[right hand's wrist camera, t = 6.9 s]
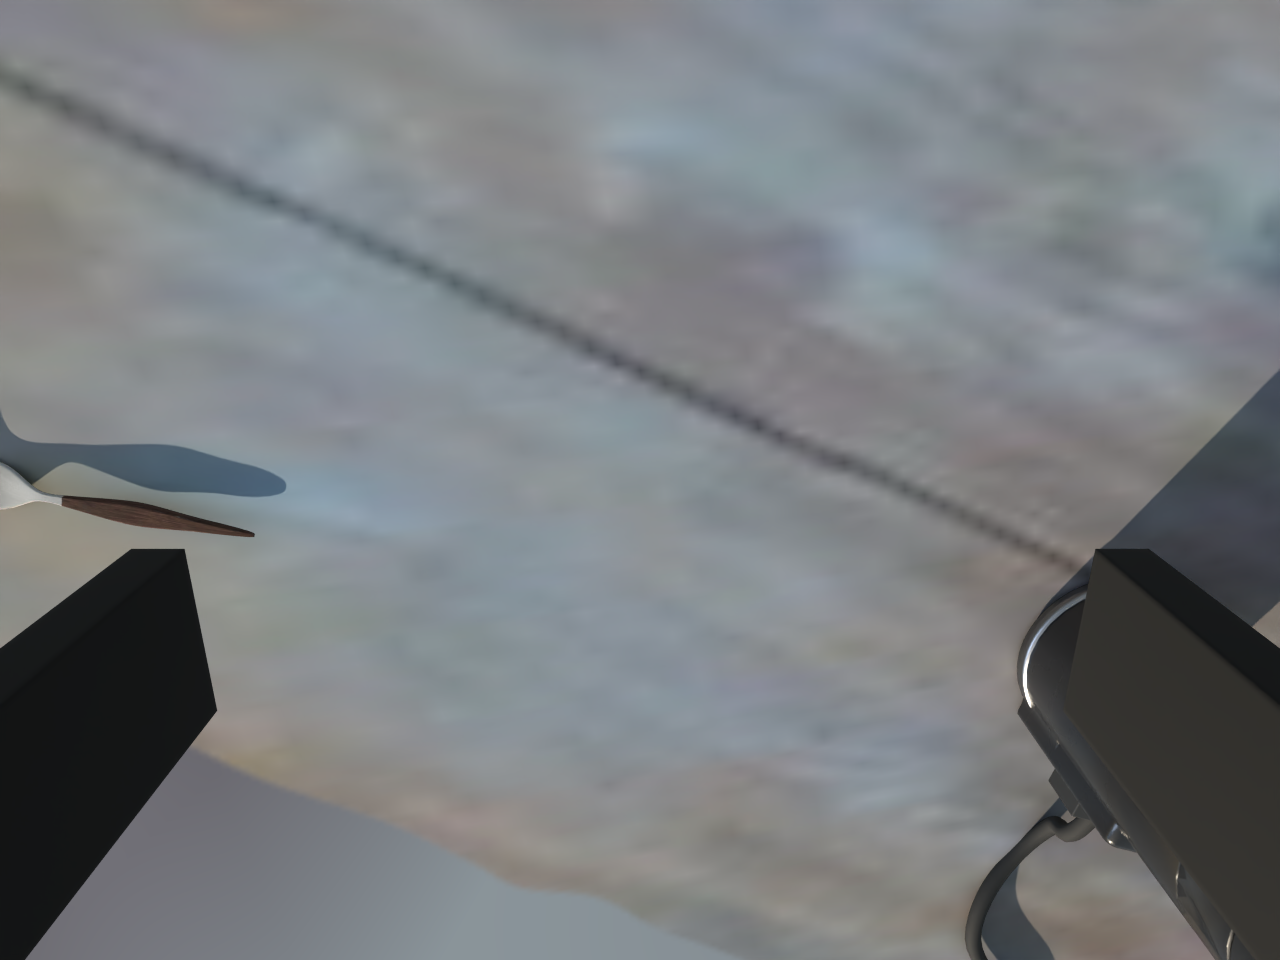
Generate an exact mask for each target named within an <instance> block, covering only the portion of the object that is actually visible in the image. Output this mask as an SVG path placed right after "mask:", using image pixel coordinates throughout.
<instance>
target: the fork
mask: <svg viewBox="0 0 1280 960" xmlns="http://www.w3.org/2000/svg"><path fill="white" fill-rule="evenodd" d="M34 501H44V502H49V503H53V504H57V505H61V506H64V507H68V508H71V509H75V510H78V511H82V512H85V513H89V514H92V515H95V516H99V517H102V518H106V519H109V520H113V521H117V522H121V523H125V524H129V525H135V526H141V527H149V528H159V529H171V530H183V531H193V532H203V533H212V534H221V535H231V536H242V537H254V535H255V534H254V533H252V532H250V531H247V530H243V529H240V528H236V527H232V526H228V525H225V524H221V523H217V522H212V521H208V520H204V519H200V518H197V517H193V516H189V515H185V514H182V513H178V512H175V511H171V510H168V509H164V508H161V507H157V506H153V505H149V504H144V503H139V502H133V501H125V500H115V499H103V498H90V497H76V496H64V495H54V494H48V493H45V492H42V491H40V490H38V489H36V488H35V487H34V486H32V485H31V484H30V483H29V482H28V481H27V480H26V479H24V478H23V477H22V476H21V475H20V474H19V473H18V472H16V471H15V470H14V469H12V468H11V467H9V466H8V465H6V464H4V463H1V462H0V509H9V508H14V507H17V506H21V505H24V504H27V503H30V502H34Z"/></svg>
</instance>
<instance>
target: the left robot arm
mask: <svg viewBox="0 0 1280 960" xmlns="http://www.w3.org/2000/svg"><path fill="white" fill-rule="evenodd" d="M1087 589H1088V584H1087V585H1084V586H1082V587H1079V588H1077V589H1075V590H1073V591H1071V592H1069V593H1068V594H1066V595H1064V596H1063V597H1061V598H1060V599H1058V600H1057V601H1056V602H1054V603H1053V604H1052V605H1051V606H1049V607H1048V608H1047V609H1046V610H1045V611H1044V612H1043V613H1042V614H1041V615H1040V616H1039V617H1038V619H1037V620H1036V621H1035V622H1034V624H1033V625H1032V627H1031V628H1030V629H1029V631H1028V633H1027V635H1026V636H1025V639H1024V641H1023V643H1022V646H1021V649H1020V652H1019V656H1018V663H1017V677H1018V683H1019V687H1020V690H1021V693H1022V695H1023V697H1024V698H1023V701H1022V704H1021V706H1020V708H1019V710H1018V715H1019V717H1020V718H1021V720H1022V721H1023V723H1024V724H1025V725H1026V727H1027V728H1028V730H1029V731H1030V733H1031V734H1032V736H1033V737H1034V739H1035V740H1036V741H1037V743H1038V744H1039V746H1040V747H1041V749H1042V750H1043V752H1044V753H1045V755H1046V756H1047V758H1048V759H1049V760H1050V762H1051V763H1052V765H1053V766H1054V768H1055V770H1054V771H1053V773H1052V775H1051V777H1050V779H1049V782H1050V784H1051V785H1052V787H1053V788H1054V790H1055V791H1056V793H1057V794H1058V796H1059V797H1060V799H1061V800H1062V802H1063V803H1064V805H1065V806H1066V808H1067V809H1068V811H1069V813H1070V814H1071V815H1072V816H1074V817H1076V818H1075V819H1074V820H1073V821H1071V822H1070V823H1067V822H1066V821H1065V820H1063V819H1061V818H1060V817H1058V816H1052V817H1048V818H1046V819H1044V820H1042V821H1041V822H1039V823H1038V824H1037V825H1035V826H1034V827H1033V828H1032V829H1031V830H1030V831H1029V832H1028V833H1027V834H1026V835H1025V836H1024V837H1023V838H1022V840H1021V841H1020V842H1019V843H1018V844H1017V845H1016V846H1015V847H1014V848H1013V849H1012V850H1011V851H1010V852H1009V853H1008V854H1007V855H1006V856H1005V857H1003V858H1002V859H1001V860H1000V861H999V862H998V863H997V864H996V865H995V867H994V868H993V869H992V870H991V872H990V873H989V874H988V876H987V877H986V878H985V880H984V881H983V883H982V885H981V887H980V889H979V890H978V892H977V894H976V897H975V899H974V901H973V903H972V906H971V909H970V912H969V915H968V919H967V924H966V931H965V941H966V947H967V951H968V953H969V956H970V958H971V960H988V959H987V957H986V956H985V953H984V951H983V948H982V942H981V933H982V926H983V922H984V920H985V917H986V914H987V912H988V909H989V907H990V905H991V903H992V901H993V899H994V897H995V896H996V894H997V892H998V891H999V889H1000V888H1001V886H1002V885H1003V883H1004V882H1005V880H1006V879H1007V878H1008V876H1009V875H1010V874H1011V873H1012V871H1013V870H1014V869H1015V868H1016V867H1017V866H1018V865H1019V864H1020V862H1021V861H1022V860H1023V859H1024V858H1025V857H1026V856H1027V855H1029V854H1030V853H1031V852H1032V851H1033V850H1034V849H1035V848H1037V847H1038V846H1039V845H1040V844H1042V843H1043V842H1044V841H1046V840H1047V839H1049V838H1050V837H1052V836H1053V835H1056V836H1057V837H1058V838H1060V839H1061V840H1063V841H1065V842H1074V841H1077V840H1080V839H1082V838H1083V837H1085V836H1086V835H1087V834H1088V833H1090V832H1091V831H1092V830H1093V829H1094V828H1095V827H1096V829H1097V830H1098V832H1099V833H1100V835H1101V836H1102V838H1103V839H1104V840H1105V841H1106V842H1107V843H1108V844H1110V845H1112V846H1113V847H1116V848H1119V849H1123V850H1128V851H1132V852H1136V853H1138V855H1139V856H1140V857H1141V859H1142V860H1143V862H1144V863H1145V864H1146V866H1147V867H1148V868H1149V870H1150V871H1151V873H1152V874H1153V875H1154V877H1155V878H1156V879H1157V881H1158V882H1159V883H1160V885H1161V886H1162V888H1163V889H1164V890H1165V892H1166V893H1167V894H1168V896H1169V897H1170V899H1171V900H1172V901H1173V903H1174V904H1175V905H1176V907H1177V908H1178V909H1179V911H1180V912H1181V914H1182V915H1183V916H1184V918H1185V919H1186V920H1187V922H1188V923H1189V925H1190V926H1191V927H1192V929H1193V930H1194V931H1195V932H1196V934H1197V935H1198V937H1199V938H1200V939H1201V941H1202V942H1203V944H1204V945H1205V946H1206V948H1207V949H1208V950H1209V952H1210V953H1211V955H1212V956H1213V957H1214V959H1215V960H1255V959H1254V958H1253V956H1252V955H1251V954H1250V952H1249V951H1248V950H1247V949H1246V947H1245V946H1244V945H1243V943H1242V942H1241V941H1240V940H1239V938H1238V937H1237V936H1236V934H1235V933H1234V932H1233V930H1232V929H1231V928H1230V927H1229V925H1228V924H1227V923H1226V921H1225V920H1224V919H1223V917H1222V916H1221V915H1220V914H1219V912H1218V911H1217V910H1216V908H1215V907H1214V906H1213V905H1212V903H1211V902H1210V901H1209V899H1208V898H1207V897H1206V895H1205V894H1204V893H1203V892H1202V890H1201V889H1200V888H1199V886H1198V885H1197V884H1196V883H1195V881H1194V880H1193V879H1192V877H1191V876H1190V875H1189V873H1188V872H1187V871H1186V870H1185V868H1184V867H1183V866H1182V864H1181V863H1180V862H1179V860H1178V859H1177V858H1176V857H1175V855H1174V854H1173V853H1172V851H1171V850H1170V849H1169V848H1168V846H1167V845H1166V844H1165V842H1164V841H1163V840H1162V838H1161V837H1160V836H1159V835H1158V833H1157V832H1156V831H1155V829H1154V828H1153V827H1152V826H1151V824H1150V823H1149V822H1148V820H1147V819H1146V818H1145V816H1144V815H1143V814H1142V813H1141V811H1140V810H1139V809H1138V807H1137V806H1136V805H1135V803H1134V802H1133V801H1132V800H1131V798H1130V797H1129V796H1128V794H1127V793H1126V792H1125V791H1124V789H1123V788H1122V787H1121V785H1120V784H1119V783H1118V781H1117V780H1116V779H1115V778H1114V776H1113V775H1112V774H1111V772H1110V771H1109V770H1108V769H1107V767H1106V766H1105V765H1104V763H1103V762H1102V761H1101V759H1100V758H1099V757H1098V756H1097V754H1096V753H1095V752H1094V750H1093V749H1092V748H1091V746H1090V745H1089V744H1088V743H1087V741H1086V740H1085V739H1084V737H1083V736H1082V735H1081V734H1080V732H1079V731H1078V730H1077V728H1076V727H1075V726H1074V724H1073V723H1072V722H1071V721H1070V719H1069V718H1068V717H1067V715H1066V714H1065V713H1064V712H1063V708H1064V703H1065V698H1066V693H1067V688H1068V683H1069V678H1070V673H1071V668H1072V663H1073V658H1074V653H1075V648H1076V643H1077V638H1078V633H1079V628H1080V623H1081V618H1082V613H1083V609H1084V604H1085V599H1086V594H1087Z"/></svg>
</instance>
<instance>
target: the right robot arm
mask: <svg viewBox="0 0 1280 960" xmlns="http://www.w3.org/2000/svg"><path fill="white" fill-rule="evenodd" d="M216 711H217V708H216V703H215V698H214V693H213V688H212V683H211V678H210V673H209V668H208V663H207V658H206V653H205V648H204V643H203V638H202V633H201V628H200V623H199V618H198V613H197V609H196V604H195V599H194V594H193V589H192V584H191V579H190V574H189V569H188V564H187V559H186V554H185V549H131V550H129V551H128V552H127V553H125V554H124V555H123V556H121V557H120V558H119V559H117V560H116V561H115V562H113V563H112V564H111V565H110V566H108V567H107V568H106V569H104V570H103V571H102V572H100V573H99V574H98V575H96V576H95V577H94V578H92V579H91V580H90V581H88V582H87V583H86V584H85V585H83V586H82V587H81V588H79V589H78V590H77V591H75V592H74V593H73V594H71V595H70V596H69V597H67V598H66V599H65V600H63V601H62V602H61V603H59V604H58V605H57V606H56V607H54V608H53V609H52V610H50V611H49V612H48V613H46V614H45V615H44V616H42V617H41V618H40V619H38V620H37V621H36V622H34V623H33V624H32V625H30V626H29V627H28V628H27V629H25V630H24V631H23V632H21V633H20V634H19V635H17V636H16V637H15V638H13V639H12V640H11V641H9V642H8V643H7V644H5V645H4V646H3V647H2V648H0V960H25V959H26V958H27V956H28V955H29V954H30V952H31V951H32V950H33V948H34V947H35V946H36V945H37V943H38V942H39V941H40V940H41V938H42V937H43V936H44V934H45V933H46V932H47V930H48V929H49V928H50V927H51V925H52V924H53V923H54V921H55V920H56V919H57V917H58V916H59V915H60V914H61V912H62V911H63V910H64V908H65V907H66V906H67V905H68V903H69V902H70V901H71V899H72V898H73V897H74V895H75V894H76V893H77V891H78V890H79V889H80V888H81V886H82V885H83V884H84V882H85V881H86V880H87V879H88V877H89V876H90V875H91V873H92V872H93V871H94V870H95V868H96V867H97V866H98V864H99V863H100V862H101V860H102V859H103V858H104V857H105V855H106V854H107V853H108V851H109V850H110V849H111V848H112V846H113V845H114V844H115V842H116V841H117V840H118V838H119V837H120V836H121V835H122V833H123V832H124V831H125V829H126V828H127V827H128V826H129V824H130V823H131V822H132V820H133V819H134V818H135V816H136V815H137V814H138V813H139V811H140V810H141V809H142V807H143V806H144V805H145V803H146V802H147V801H148V799H149V798H150V797H151V796H152V794H153V793H154V792H155V790H156V789H157V788H158V787H159V785H160V784H161V783H162V781H163V780H164V779H165V778H166V776H167V775H168V774H169V772H170V771H171V770H172V768H173V767H174V766H175V765H176V763H177V762H178V761H179V759H180V758H181V757H182V756H183V754H184V753H185V752H186V750H187V749H188V748H189V746H190V745H191V744H192V743H193V741H194V740H195V739H196V737H197V736H198V735H199V734H200V732H201V731H202V730H203V728H204V727H205V726H206V724H207V723H208V722H209V721H210V719H211V718H212V717H213V715H214V714H215V713H216ZM1063 712H1064V713H1065V714H1066V715H1067V717H1068V718H1069V719H1070V721H1071V722H1072V723H1073V724H1074V726H1075V727H1076V728H1077V730H1078V731H1079V732H1080V734H1081V735H1082V736H1083V737H1084V739H1085V740H1086V741H1087V743H1088V744H1089V745H1090V746H1091V748H1092V749H1093V750H1094V752H1095V753H1096V754H1097V756H1098V757H1099V758H1100V759H1101V761H1102V762H1103V763H1104V765H1105V766H1106V767H1107V769H1108V770H1109V771H1110V772H1111V774H1112V775H1113V776H1114V778H1115V779H1116V780H1117V781H1118V783H1119V784H1120V785H1121V787H1122V788H1123V789H1124V791H1125V792H1126V793H1127V794H1128V796H1129V797H1130V798H1131V800H1132V801H1133V802H1134V803H1135V805H1136V806H1137V807H1138V809H1139V810H1140V811H1141V813H1142V814H1143V815H1144V816H1145V818H1146V819H1147V820H1148V822H1149V823H1150V824H1151V826H1152V827H1153V828H1154V829H1155V831H1156V832H1157V833H1158V835H1159V836H1160V837H1161V838H1162V840H1163V841H1164V842H1165V844H1166V845H1167V846H1168V848H1169V849H1170V850H1171V851H1172V853H1173V854H1174V855H1175V857H1176V858H1177V859H1178V860H1179V862H1180V863H1181V864H1182V866H1183V867H1184V868H1185V870H1186V871H1187V872H1188V873H1189V875H1190V876H1191V877H1192V879H1193V880H1194V881H1195V883H1196V884H1197V885H1198V886H1199V888H1200V889H1201V890H1202V892H1203V893H1204V894H1205V895H1206V897H1207V898H1208V899H1209V901H1210V902H1211V903H1212V905H1213V906H1214V907H1215V908H1216V910H1217V911H1218V912H1219V914H1220V915H1221V916H1222V917H1223V919H1224V920H1225V921H1226V923H1227V924H1228V925H1229V927H1230V928H1231V929H1232V930H1233V932H1234V933H1235V934H1236V936H1237V937H1238V938H1239V940H1240V941H1241V942H1242V943H1243V945H1244V946H1245V947H1246V949H1247V950H1248V951H1249V952H1250V954H1251V955H1252V956H1253V958H1254V959H1255V960H1280V648H1278V647H1277V646H1276V645H1275V644H1273V643H1272V642H1271V641H1269V640H1268V639H1267V638H1265V637H1264V636H1263V635H1261V634H1260V633H1259V632H1257V631H1256V630H1255V629H1253V628H1252V627H1251V626H1250V625H1248V624H1247V623H1246V622H1244V621H1243V620H1242V619H1240V618H1239V617H1238V616H1236V615H1235V614H1234V613H1232V612H1231V611H1230V610H1228V609H1227V608H1226V607H1224V606H1223V605H1222V604H1221V603H1219V602H1218V601H1217V600H1215V599H1214V598H1213V597H1211V596H1210V595H1209V594H1207V593H1206V592H1205V591H1203V590H1202V589H1201V588H1199V587H1198V586H1197V585H1195V584H1194V583H1193V582H1192V581H1190V580H1189V579H1188V578H1186V577H1185V576H1184V575H1182V574H1181V573H1180V572H1178V571H1177V570H1176V569H1174V568H1173V567H1172V566H1170V565H1169V564H1168V563H1167V562H1165V561H1164V560H1163V559H1161V558H1160V557H1159V556H1157V555H1156V554H1155V553H1153V552H1152V551H1151V550H1149V549H1095V554H1094V559H1093V564H1092V569H1091V574H1090V579H1089V584H1088V589H1087V594H1086V599H1085V604H1084V609H1083V613H1082V618H1081V623H1080V628H1079V633H1078V638H1077V643H1076V648H1075V653H1074V658H1073V663H1072V668H1071V673H1070V678H1069V683H1068V688H1067V693H1066V698H1065V703H1064V708H1063Z"/></svg>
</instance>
